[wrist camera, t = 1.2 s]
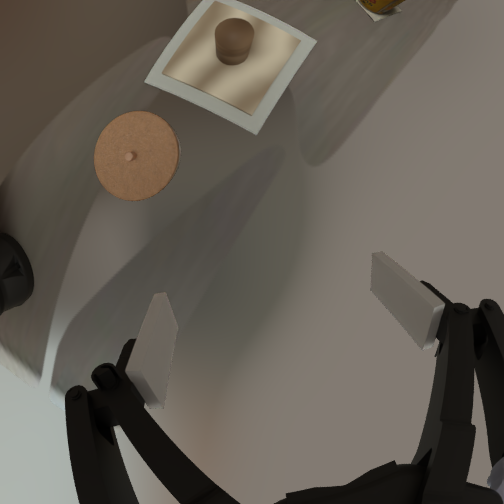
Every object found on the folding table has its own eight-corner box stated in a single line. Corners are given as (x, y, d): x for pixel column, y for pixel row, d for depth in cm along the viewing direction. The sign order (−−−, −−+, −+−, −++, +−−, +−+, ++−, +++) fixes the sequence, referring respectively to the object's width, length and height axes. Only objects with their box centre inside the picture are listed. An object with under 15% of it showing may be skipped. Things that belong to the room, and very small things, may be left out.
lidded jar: (178, 107, 33) (164, 95, 24) (195, 179, 37) (186, 189, 28) (109, 131, 32) (79, 129, 24) (126, 199, 37) (101, 215, 28)
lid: (162, 74, 30) (148, 58, 22) (215, 3, 26) (214, -24, 19) (251, 116, 34) (258, 108, 26) (299, 42, 30) (316, 22, 22)
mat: (145, 82, 30) (143, 82, 30) (210, -7, 25) (210, -9, 25) (256, 135, 35) (256, 135, 35) (315, 42, 30) (317, 41, 30)
